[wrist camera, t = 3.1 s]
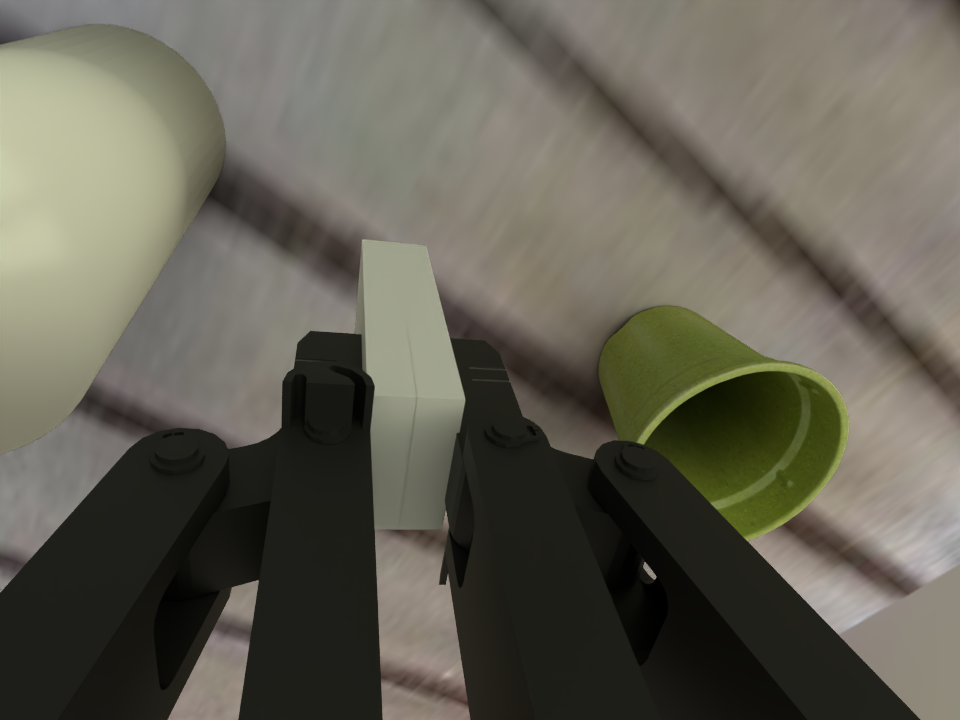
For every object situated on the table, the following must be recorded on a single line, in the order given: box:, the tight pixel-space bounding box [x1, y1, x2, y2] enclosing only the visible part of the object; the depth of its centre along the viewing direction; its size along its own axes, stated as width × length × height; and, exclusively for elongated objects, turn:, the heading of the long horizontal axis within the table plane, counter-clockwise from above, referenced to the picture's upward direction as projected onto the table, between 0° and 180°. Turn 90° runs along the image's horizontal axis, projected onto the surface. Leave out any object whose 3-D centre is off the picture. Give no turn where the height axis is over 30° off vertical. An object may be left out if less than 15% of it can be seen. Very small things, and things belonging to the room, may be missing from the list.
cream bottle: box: [0, 24, 226, 455], centre depth 16 cm, size 7×7×20 cm
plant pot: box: [598, 306, 849, 541], centre depth 30 cm, size 9×9×9 cm
